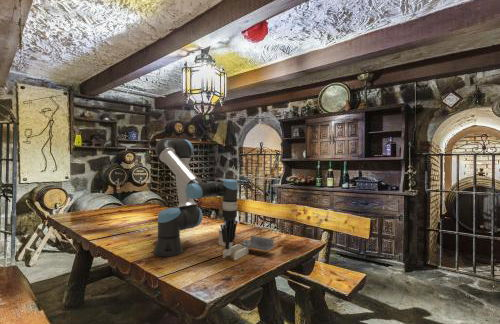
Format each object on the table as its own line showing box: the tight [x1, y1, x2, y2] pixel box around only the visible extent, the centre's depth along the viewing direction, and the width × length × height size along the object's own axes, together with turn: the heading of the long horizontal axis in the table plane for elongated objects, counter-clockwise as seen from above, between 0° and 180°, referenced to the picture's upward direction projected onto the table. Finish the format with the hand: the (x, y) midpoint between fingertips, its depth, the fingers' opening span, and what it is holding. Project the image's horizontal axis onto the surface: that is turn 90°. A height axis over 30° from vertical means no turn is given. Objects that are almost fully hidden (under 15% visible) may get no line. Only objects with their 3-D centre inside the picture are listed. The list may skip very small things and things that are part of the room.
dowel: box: [228, 249, 242, 260], centre depth 147 cm, size 9×3×3 cm
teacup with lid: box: [218, 227, 237, 247], centre depth 168 cm, size 12×9×12 cm
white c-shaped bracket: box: [222, 243, 250, 261], centre depth 150 cm, size 8×17×4 cm, turn 151°
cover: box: [241, 234, 275, 252], centre depth 153 cm, size 9×18×4 cm, turn 61°
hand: (228, 254), depth 143 cm, fingers closed
